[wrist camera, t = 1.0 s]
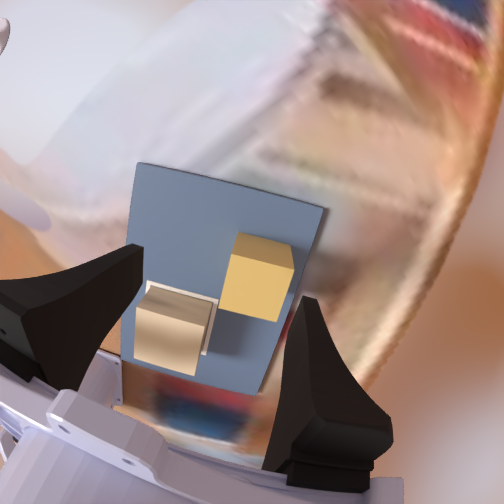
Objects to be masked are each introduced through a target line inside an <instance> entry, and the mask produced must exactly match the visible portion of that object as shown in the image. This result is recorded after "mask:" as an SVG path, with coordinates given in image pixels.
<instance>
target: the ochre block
mask: <svg viewBox="0 0 504 504" xmlns="http://www.w3.org/2000/svg"><path fill="white" fill-rule="evenodd" d="M293 273H294V264H293V258H292V252H291V246H290V245H287V244H284V243H280V242H276V241H272V240H268V239H265V238H261V237H257V236H253V235H249V234H245V233H241V232H238V234H237V237H236V241H235V244H234V247H233V250H232V253H231V257H230V261H229V265H228V269H227V274H226V278H225V282H224V286H223V290H222V294H221V298H220V303H219V307H218V308H220V309H224V310H228V311H232V312H236V313H240V314H244V315H248V316H252V317H257V318H261V319H265V320H269V321H274V322H277V319H278V316H279V313H280V311H281V308H282V305H283V302H284V299H285V296H286V293H287V290H288V288H289V285H290V282H291V279H292V276H293Z"/></svg>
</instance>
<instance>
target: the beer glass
mask: <svg viewBox="0 0 504 504" xmlns="http://www.w3.org/2000/svg"><path fill="white" fill-rule="evenodd" d="M9 34H10V24H9V21H8V20H7V19H5V18H0V55H1V53H2V52H3V50H4V48H5V46H6V44H7V41H8V38H9Z"/></svg>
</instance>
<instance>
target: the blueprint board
mask: <svg viewBox="0 0 504 504" xmlns="http://www.w3.org/2000/svg"><path fill="white" fill-rule="evenodd" d="M323 210H324V209H323V207H320V206H316V205H313V204H309V203H306V202H302V201H299V200H295V199H292V198H288V197H284V196H281V195H277V194H273V193H270V192H266V191H262V190H258V189H254V188H250V187H246V186H242V185H238V184H234V183H230V182H226V181H222V180H218V179H214V178H210V177H205V176H201V175H197V174H192V173H188V172H184V171H179V170H174V169H170V168H165V167H160V166H156V165H151V164H146V163H141V162H139V163H137V166H136V172H135V178H134V184H133V191H132V198H131V205H130V213H129V221H128V230H127V239H126V245H129V244H132V243H133V244H136V245H139V246H142V247H144V259H143V284H142V286H141V287H140V289H139V291H138V293H137V295H136V296H135V298H134V300H133V301H132V302H131V304H130V305H129V306H128V308H127V309H126V310H125V312H124V313H123V314H122V315H121V360H124V361H127V362H130V363H133V364H136V365H139V366H142V367H145V368H148V369H152V370H155V371H158V372H161V373H165V374H168V375H172V376H175V377H178V378H182V379H186V380H189V381H193V382H197V383H201V384H205V385H209V386H213V387H217V388H221V389H225V390H230V391H234V392H239V393H243V394H248V395H253V396H256V394H257V392H258V390H259V387H260V385H261V382H262V380H263V377H264V375H265V372H266V370H267V367H268V365H269V362H270V359H271V357H272V354H273V352H274V349H275V347H276V344H277V341H278V339H279V336H280V333H281V331H282V328H283V325H284V323H285V320H286V317H287V315H288V312H289V309H290V306H291V304H292V301H293V298H294V295H295V293H296V290H297V287H298V284H299V281H300V278H301V276H302V273H303V270H304V267H305V264H306V261H307V258H308V255H309V252H310V249H311V246H312V243H313V240H314V237H315V234H316V231H317V228H318V225H319V222H320V219H321V216H322V213H323ZM238 232H241V233H245V234H249V235H253V236H257V237H261V238H265V239H268V240H272V241H276V242H280V243H284V244H287V245H290V246H291V252H292V258H293V264H294V273H293V276H292V279H291V282H290V285H289V288H288V290H287V293H286V296H285V299H284V302H283V305H282V308H281V311H280V313H279V316H278V319H277V322H274V321H269V320H265V319H261V318H257V317H252V316H248V315H244V314H240V313H236V312H232V311H228V310H224V309H220V308H218V307H219V303H220V298H221V294H222V290H223V286H224V282H225V278H226V274H227V269H228V265H229V261H230V257H231V253H232V250H233V247H234V244H235V241H236V237H237V234H238ZM151 286H155V287H158V288H162V289H165V290H169V291H172V292H176V293H179V294H183V295H187V296H190V297H194V298H198V299H202V300H205V301H209V302H213V303H212V307H211V311H210V316H209V320H208V325H207V330H206V334H205V339H204V343H203V348H202V352H201V355H200V359H199V362H198V365H197V369H196V372H195V376H192V375H188V374H185V373H181V372H177V371H174V370H170V369H167V368H164V367H160V366H157V365H154V364H151V363H147V362H144V361H141V360H138V359H135V358H134V339H135V320H136V307H137V305H138V304H139V303H140V301H141V300H142V298H143V297H144V295H145V294H146V293H147V291H148V290H149V288H150V287H151Z"/></svg>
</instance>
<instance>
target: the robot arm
mask: <svg viewBox="0 0 504 504" xmlns="http://www.w3.org/2000/svg"><path fill="white" fill-rule="evenodd" d="M143 259H144V247H142V246H139V245H136V244H133V243H132V244H129V245H126V246H124V247H122V248H119V249H117V250H115V251H112V252H110V253H108V254H106V255H103V256H101V257H99V258H96V259H94V260H91V261H89V262H86V263H84V264H81V265H79V266H76V267H73V268H70V269H67V270H64V271H60V272H57V273H52V274H48V275H43V276H38V277H32V278H24V279H12V280H0V425H1V426H2V427H3V429H2V431H1V432H0V452H1V454H2V457H3V459H4V461H5V464H4V466H3V468H2V470H1V471H0V504H404V482H403V478H401V477H374V478H371V479H370V471H372V470H373V469H374V460H376V459H377V458H378V457H379V456H381V455H382V454H383V453H385V452H386V451H387V450H388V449H389V448H390V447H391V446H392V444H393V442H394V441H393V429H392V422H391V417H390V416H389V415H388V414H386V413H385V412H384V411H383V410H382V409H381V408H380V407H379V406H378V405H377V404H376V403H375V402H374V401H373V400H372V399H371V398H370V397H369V396H368V395H367V393H366V392H365V391H364V390H363V389H362V387H361V386H360V385H359V384H358V382H357V381H356V380H355V378H354V377H353V376H352V374H351V373H350V371H349V370H348V368H347V367H346V365H345V363H344V362H343V360H342V358H341V356H340V355H339V353H338V351H337V349H336V347H335V345H334V342H333V340H332V338H331V336H330V333H329V331H328V329H327V326H326V324H325V321H324V318H323V315H322V313H321V310H320V307H319V304H318V301H317V299H314V298H310V297H307V296H302V299H301V301H300V304H299V306H298V309H297V311H296V313H295V316H294V318H293V321H292V323H291V325H290V328H289V331H288V335H287V340H286V345H285V350H284V360H283V371H282V381H281V392H280V398H279V403H278V408H277V412H276V417H275V421H274V425H273V429H272V433H271V437H270V441H269V445H268V448H267V452H266V455H265V459H264V462H263V466H262V469H261V470H260V469H256V468H251V467H247V466H243V465H239V464H235V463H231V462H228V461H224V460H220V459H217V458H213V457H210V456H207V455H203V454H200V453H197V452H194V451H191V450H188V449H185V448H182V447H179V446H176V445H173V444H171V443H168V442H166V441H165V439H164V437H163V436H162V435H161V434H160V433H158V432H157V431H156V430H155V429H153V428H152V427H150V426H148V425H146V424H144V423H142V422H140V421H138V420H136V419H133V418H131V417H129V416H126V415H124V414H122V413H120V412H117V411H115V410H113V408H114V406H115V405H117V406H122V405H123V391H122V360H121V358H120V357H119V356H116V355H114V354H111V353H108V352H105V351H103V350H100V349H99V347H100V345H101V343H102V342H103V340H104V338H105V337H106V335H107V334H108V332H109V331H110V330H111V329H112V327H113V326H114V325H115V323H116V322H117V321H118V319H119V318H120V317H121V315H122V314H123V313H124V312H125V310H126V309H127V308H128V306H129V305H130V304H131V302H132V301H133V300H134V298H135V296H136V295H137V293H138V291H139V289H140V287H141V286H142V284H143ZM14 441H15V442H17V445H15V443H14Z"/></svg>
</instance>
